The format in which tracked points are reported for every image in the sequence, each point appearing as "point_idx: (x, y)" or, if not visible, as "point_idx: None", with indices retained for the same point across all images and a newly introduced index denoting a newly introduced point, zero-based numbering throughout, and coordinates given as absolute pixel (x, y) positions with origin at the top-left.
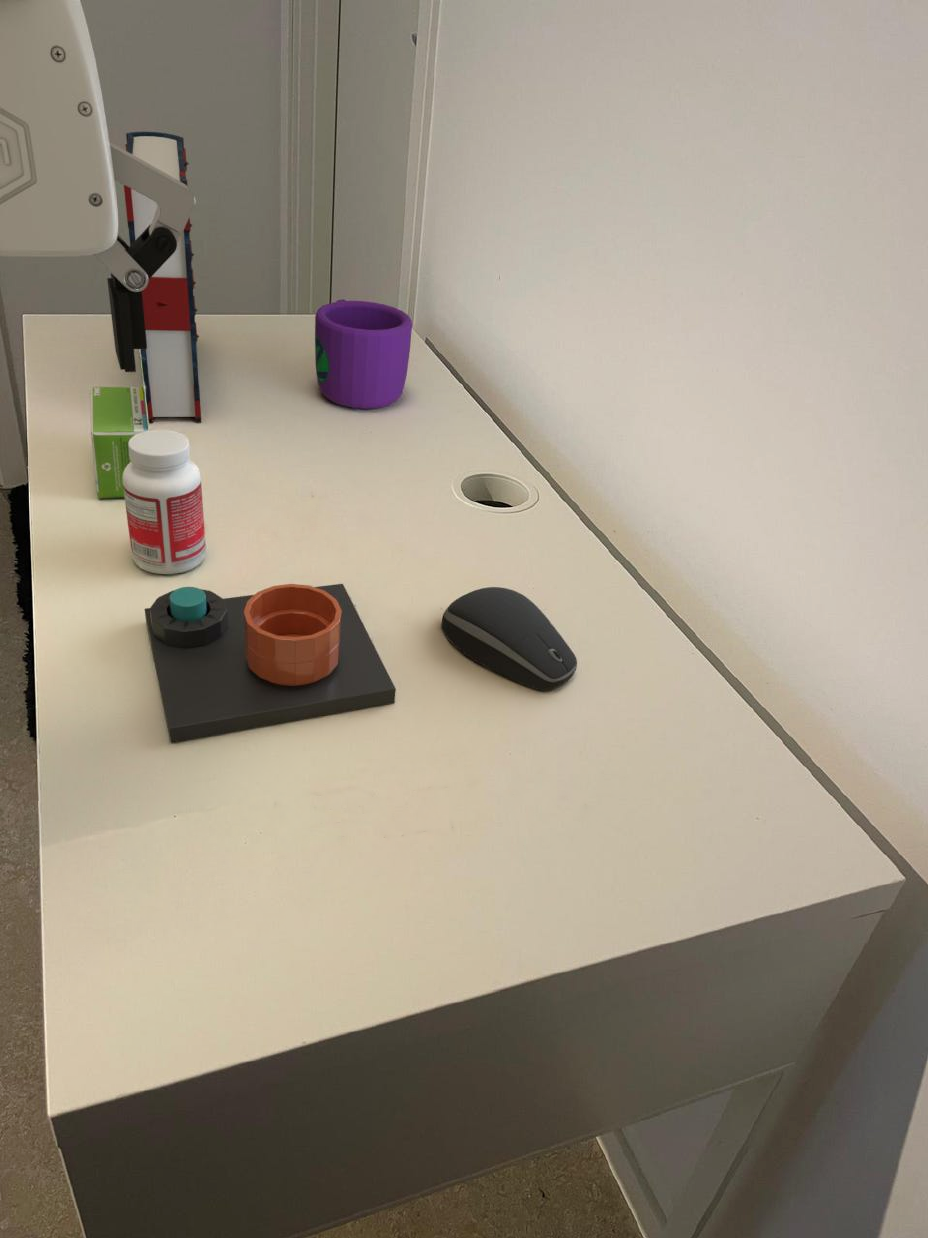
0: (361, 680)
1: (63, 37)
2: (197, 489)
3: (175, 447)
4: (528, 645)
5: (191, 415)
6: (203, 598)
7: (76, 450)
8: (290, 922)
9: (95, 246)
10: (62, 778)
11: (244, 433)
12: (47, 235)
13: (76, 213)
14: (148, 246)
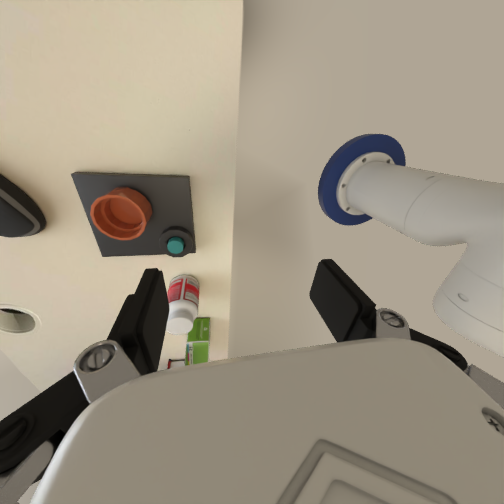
0: (91, 185)
1: None
2: None
3: (171, 323)
4: None
5: (172, 362)
6: (168, 244)
7: (215, 342)
8: (137, 30)
9: (122, 389)
10: (231, 169)
11: None
12: (213, 395)
13: (135, 473)
14: (46, 421)
